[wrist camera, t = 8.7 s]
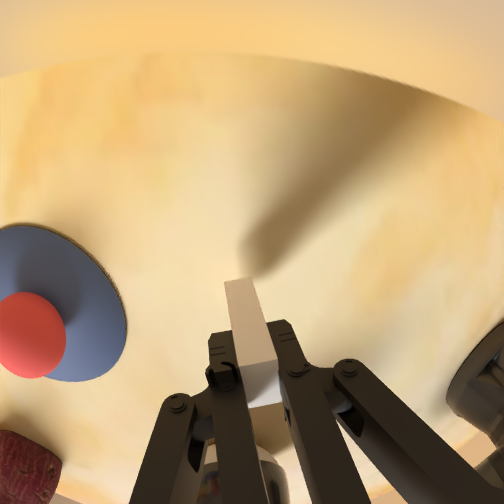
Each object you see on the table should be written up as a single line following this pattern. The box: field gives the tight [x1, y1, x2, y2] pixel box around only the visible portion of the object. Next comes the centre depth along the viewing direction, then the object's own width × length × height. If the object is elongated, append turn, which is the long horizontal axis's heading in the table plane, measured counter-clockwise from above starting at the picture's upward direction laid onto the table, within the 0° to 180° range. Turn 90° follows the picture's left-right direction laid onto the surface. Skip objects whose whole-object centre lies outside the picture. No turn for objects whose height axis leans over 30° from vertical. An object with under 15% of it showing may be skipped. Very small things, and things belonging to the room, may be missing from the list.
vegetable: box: [0, 430, 62, 504], centre depth 19 cm, size 10×10×15 cm
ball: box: [0, 292, 66, 378], centre depth 16 cm, size 6×6×6 cm
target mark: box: [0, 226, 126, 382], centre depth 18 cm, size 13×13×1 cm
